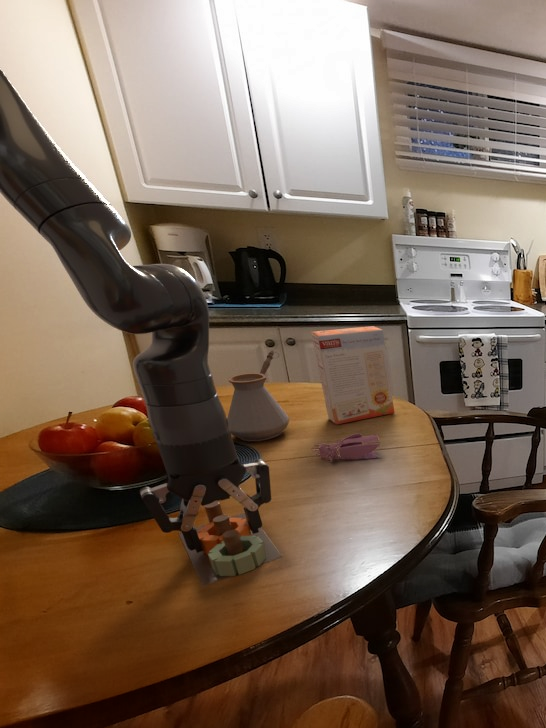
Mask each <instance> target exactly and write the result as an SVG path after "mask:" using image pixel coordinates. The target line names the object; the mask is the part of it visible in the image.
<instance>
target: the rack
mask: <svg viewBox="0 0 546 728" xmlns="http://www.w3.org/2000/svg"><path fill="white" fill-rule="evenodd" d="M203 508H204V510H205V514H206V516H207V520H208V522H209V523H208V524H210V523H211V522H213V523H214V526H215V529H216V532H217V535H218V536H221V535H222V538H223V541H224V544H225V547H226V550H227V553H228V556H234V555H237V554H240V553H243V552H245V551H244V548H243V545H242V542H241V538H240V535H239V532H238V531H237V530H233V529H232V526H231V523H230V519H229V518H243V519H246V521H247V518H246V515H245V512H243V513H239V514H237V515H233V516H229V515H227V514H224V512H223V509H222V506H221V503H220V501H214V502H212V503H210V504H208V505H204V506H203ZM205 525H206V524H203V525H200V526H196V527H195V528H196V531H199V530H200V529H201V528H203V527H204V526H205ZM258 530H259V532H258V533H255V534H253V533H252V532H251V534H252V536H256V537H259V538H260V539H261V540H262V541H263V544H264V547H265V551H266V555H267V556H266V559H265V560H264V561H263V562H262V563H261V565H260V566H262V565H264V564H268V563H270V562H272V561H275V560H278V559H281V558H283V557H284V556H283V555H282V553H281V552H280V551H279V549H278V548H277V547H276V546H275V544H274V542H273V541H272V540H271V538H269V536H268V535H267V533H266V532H265V530H264V529H263V528H262V527H261V528H258ZM177 534H178V536H179V539H180V541H181V543H182V545H183V547H184V550H185V551H186V553H187V555H188V557H189V560H190V562H191V564H192V566H193V568H194V570H195V572H196V574H197V576H198V579H199V581H200V583H201V585H202V587H205V586H208V585H211V584H214V583H216V582H219V581H222V580H224V579H227V578H230V577H231V576H220V575H216V573H215V572H214V570H213V568H212V565H211V562H210V560H209V557H208V555H207V554H206V553H203V551H201V552H198V553H197V552H196V550H190V549H189V548H188V547H187V545H186V542H185V540H184V537H183V534H182V532H181V531H179V532H177ZM257 567H258V566H255V568H257ZM236 575H239V574H238V573H237V574H236Z"/></svg>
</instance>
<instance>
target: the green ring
mask: <svg viewBox="0 0 546 728" xmlns="http://www.w3.org/2000/svg"><path fill="white" fill-rule="evenodd" d="M240 538H241V542H242V545H243V548H244V551H245V552H243V553H240V554H237V555H234V556H228V553H227V550H226V547H225V544H224V541H222V542H221V543H222V544H217V545H216V546H215V547H214V548H212V549H211V550H210V551H209V554H208V557H209V560H210V562H211V565H212V568H213V570H214V572H215V573H216V575H220V576H230V577H236V575H238V576H241V575H243V574H246V573H248V572H250V571H253V570H256V567H255V566H257V567H260V566H262V565H261V563H262V562H263V561H264V560H265V559H266V556H267V555H266V551H265V547H264V544H263V541H262V540H261V539H260V538H259V537H256V536H240ZM237 573H238V574H237Z"/></svg>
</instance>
